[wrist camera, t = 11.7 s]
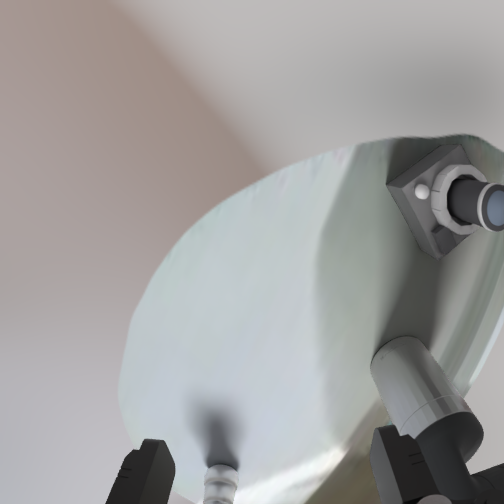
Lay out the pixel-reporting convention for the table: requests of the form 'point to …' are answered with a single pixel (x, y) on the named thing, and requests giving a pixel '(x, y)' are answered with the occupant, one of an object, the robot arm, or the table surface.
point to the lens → (477, 203)
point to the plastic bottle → (220, 485)
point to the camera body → (434, 199)
